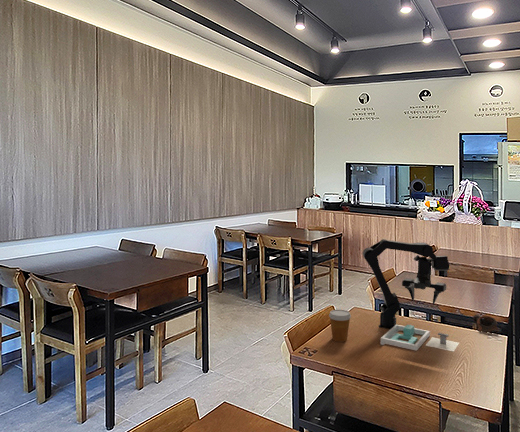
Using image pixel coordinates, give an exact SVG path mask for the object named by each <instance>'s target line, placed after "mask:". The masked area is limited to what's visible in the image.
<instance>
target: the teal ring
mask: <svg viewBox="0 0 520 432" xmlns="http://www.w3.org/2000/svg"><path fill="white" fill-rule="evenodd" d="M404 326H405V327H404V330H403V331H402V334H401V333H399V332H397V333H396V334H395V335H394V336H393V337H392V338H391V339H392V340H397V341H401V342H406V343H410V344H416V343H417V342H418V337H416V336H414V335H415V333H414V328H415V325H412V324H406V325H404ZM402 339H403V340H402ZM406 340H408V341H406Z"/></svg>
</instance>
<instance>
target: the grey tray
mask: <svg viewBox="0 0 520 432" xmlns="http://www.w3.org/2000/svg"><path fill="white" fill-rule="evenodd" d="M405 326H406V325H400V324H396V325H395V326H394V327H393V328H391V329H388V331H387V332H386V333H384V335H382V336H381V337H380V345H381V346H385V344H386V345H390V346H395V347H397V348H398V347H399V348H403V349H408V350H412V351H415V352H416V351H418V350H419V349H420V348H421V346H422V345H423V344H424V343H425V341H426V340H427V339H428V338H429V337H430V335H431V334H430V333H431V331H430V330H425V329H421V328H416V327H414V335H415V334H417V335H421V337H420V338H419V339H418V340H417V341H416V342H415V343H414V344H410V343H406V342H401V341H397V340H392V339H391V338H392V337H393V336H394V335H395V334H396V333H399V331H402V332H403V330H404V327H405Z"/></svg>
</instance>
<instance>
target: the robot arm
mask: <svg viewBox="0 0 520 432" xmlns="http://www.w3.org/2000/svg"><path fill="white" fill-rule="evenodd" d="M387 249H388V250H394V251H402V252H408V253H413V254H416V256H415V257H413V260H414V261H415V262H417V272H416V277H415V278H414V279H413V278H405V279H403V280H402V282H401V286H402V287H404V289H407V290H408V292H409V294H410V298H411V300H412V302H415V289H416V290H417V289H419V290H424V291H425V290H426V288H431V289H434V290H433V298H432V305H433V306H434V305H435V303H436V302H437V300H438V297H439V295H440V294H441V293H444V292H445V291H446V290H447V284H446V283H443V282H436V283H432V279H431V278H432V269H433V270H434V271H449V270H450V269H449V268H450V263H449V259H448V256H447V255H436V254H435V252H434V250H433V249H434V248H433V247H432V245H430V244H428V243H427V242H411V243H410V242H403V241H397V240H388V239H385V238H384V239H381V240H380V241H377V242H376V243H375V244H373V245H371V246H370V247H365V248H364V249H363V251H362V257H363V258H364V259H365V261H366V262H367V264H368V266H369V267H370V268H371V270H372V273H373V275H374V277H375V280H376V281H377V284H378V286H379V288H380V291H381V293H382V297H383V300H384V301H383V302H384V303H383V304H382V305H381V306H379V308H380V311H381V312H380V314H379V316H380V317H379V325H378V328H382V329H387V330H390V329H391V328H393V327H394V326H395V325H397V317H396V314H397V313H398V312H399V311H400V308H401V302H400V300H399V298H398V296H397V294H396V293H395V292H393V293H392V291H391V289H390V287H389V285H388V282H387V280H386V278H385V276H384V274H383V272H382V269H381V267H380V262H379V258H378V256H380V255H381V254H382V253H383V252H385V250H387ZM428 257H429V258H428Z"/></svg>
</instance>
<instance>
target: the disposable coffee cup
mask: <svg viewBox="0 0 520 432" xmlns="http://www.w3.org/2000/svg"><path fill="white" fill-rule="evenodd" d="M328 316H329V320H330V328H331V338H332V340H333V341H335V342H341V343H342V342H346V341H347V339H348V335H349V326H350V319H351V318H352V315H351V313H350V311H348V310H345V309H332V310H330V311H329V314H328Z"/></svg>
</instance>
